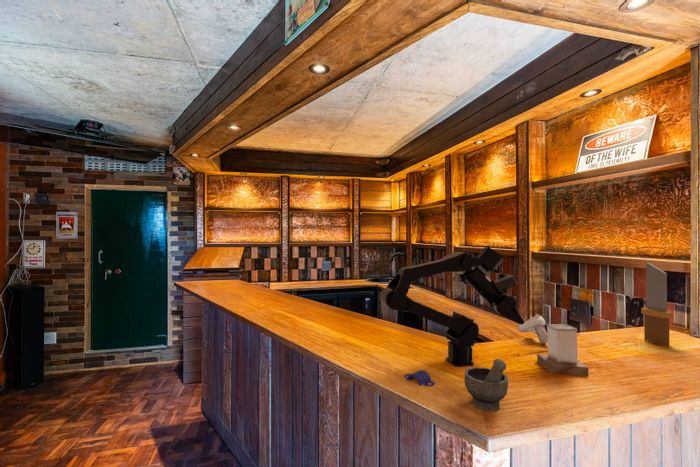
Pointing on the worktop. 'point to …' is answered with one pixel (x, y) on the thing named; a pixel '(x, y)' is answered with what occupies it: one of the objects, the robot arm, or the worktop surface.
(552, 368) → the block
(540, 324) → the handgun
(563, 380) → the worktop surface
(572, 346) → the tin
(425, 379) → the blue animal figurine
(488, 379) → the mortar and pestle
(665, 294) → the knife
